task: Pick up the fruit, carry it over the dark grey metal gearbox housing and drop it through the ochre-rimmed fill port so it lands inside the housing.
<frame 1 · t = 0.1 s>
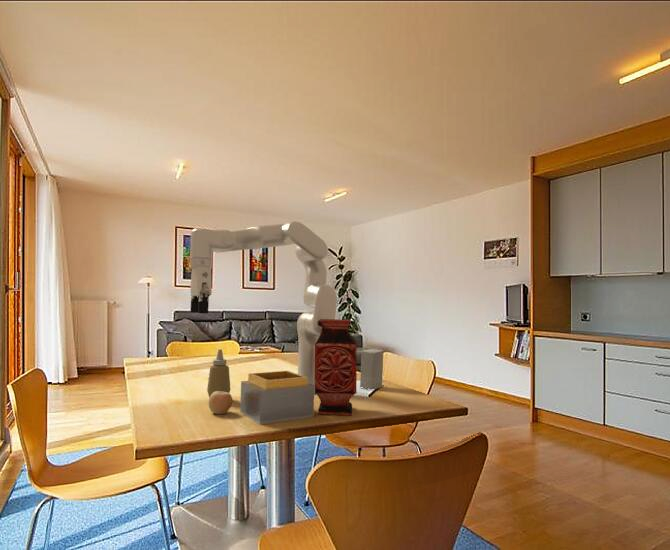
hand: (199, 312, 158), 31 cm above the table, fingers open, 9 cm apart
vase: (335, 411, 149), on the table
fruit: (219, 413, 143), on the table
skincare box: (371, 388, 188), on the table
squeeze bottle: (218, 401, 160), on the table
gearbox housing: (276, 414, 143), on the table
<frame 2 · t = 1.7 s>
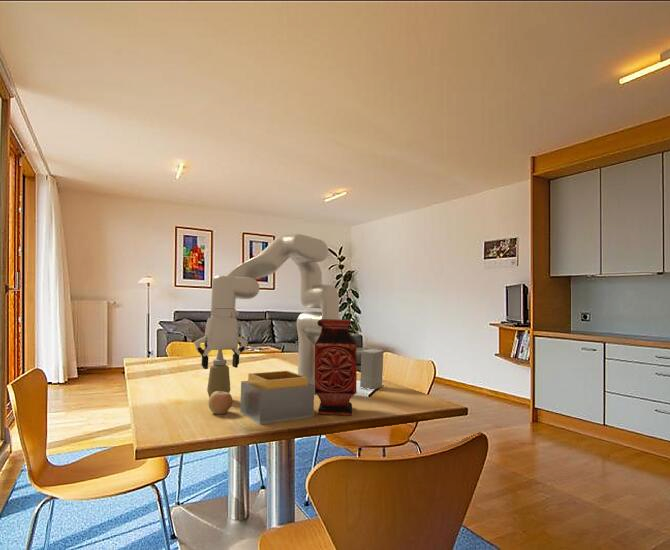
hand: (220, 367, 144), 14 cm above the table, fingers open, 9 cm apart
nothing on the table moved.
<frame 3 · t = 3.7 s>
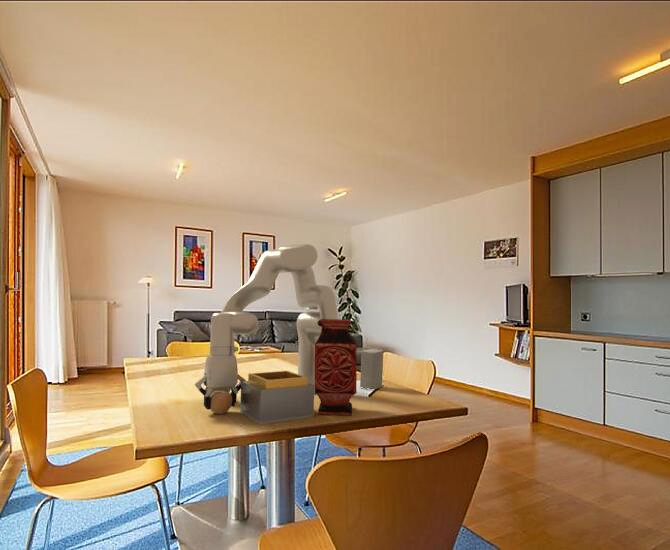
hand: (220, 406, 143), 2 cm above the table, fingers closed on fruit, 7 cm apart
fruit: (219, 413, 143), on the table, touching gripper
everything else where it was.
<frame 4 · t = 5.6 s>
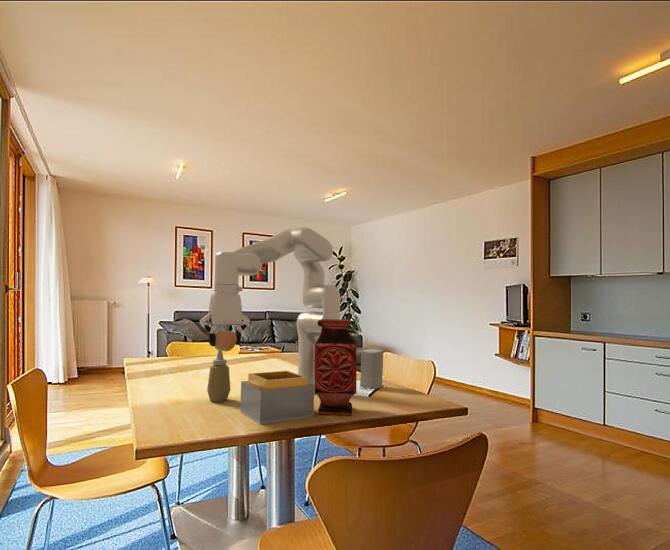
hand: (224, 345, 145), 22 cm above the table, fingers closed on fruit, 7 cm apart
fruit: (224, 351, 144), point 19 cm above the table, touching gripper
everything else where it was.
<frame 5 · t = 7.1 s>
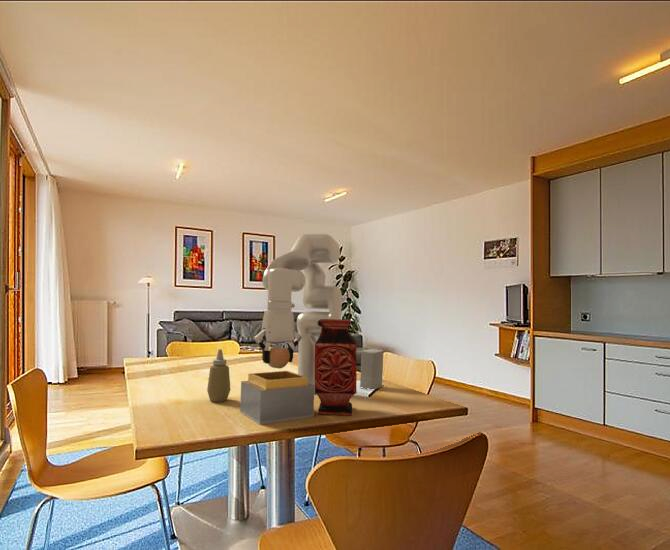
hand: (277, 361, 144), 17 cm above the table, fingers closed on fruit, 7 cm apart
fruit: (277, 368, 144), point 14 cm above the table, touching gripper
everything else where it was.
when the fingers open (16 cm above the table, at t = 8.0 s): fruit drops 11 cm, resting on gearbox housing.
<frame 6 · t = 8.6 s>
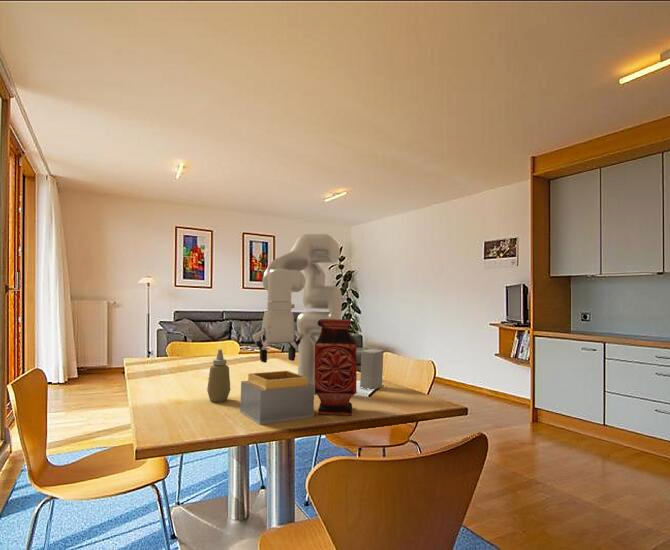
hand: (277, 361, 144), 17 cm above the table, fingers open, 9 cm apart
fruit: (272, 404, 143), point 3 cm above the table, touching gearbox housing
everything else where it was.
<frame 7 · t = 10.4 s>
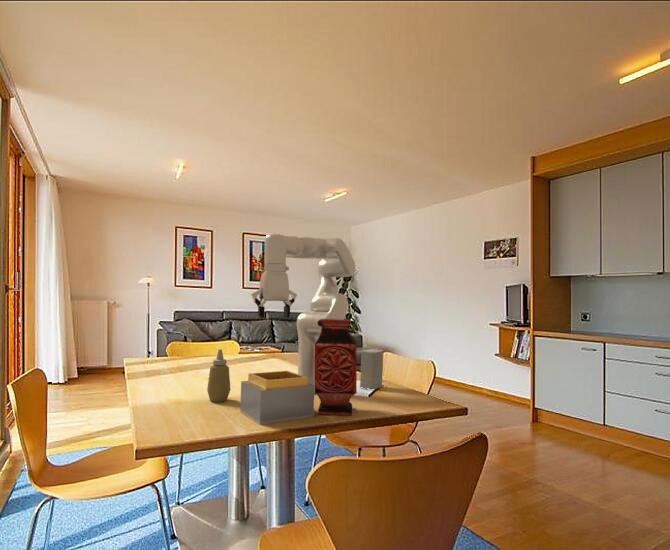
hand: (274, 317, 159), 30 cm above the table, fingers open, 9 cm apart
nothing on the table moved.
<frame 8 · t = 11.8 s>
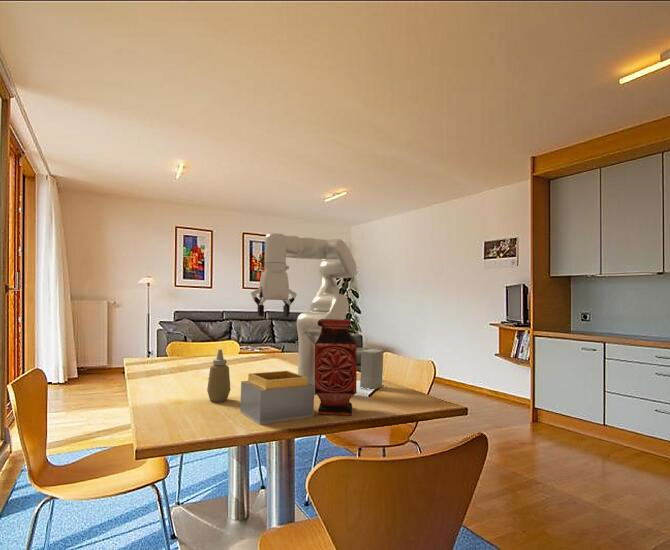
hand: (273, 316, 160), 30 cm above the table, fingers open, 9 cm apart
nothing on the table moved.
at the end: fruit inside the target area on the gearbox housing (1.2 cm from its centre), point 3.2 cm above the gearbox housing's base; the gripper is holding nothing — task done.
